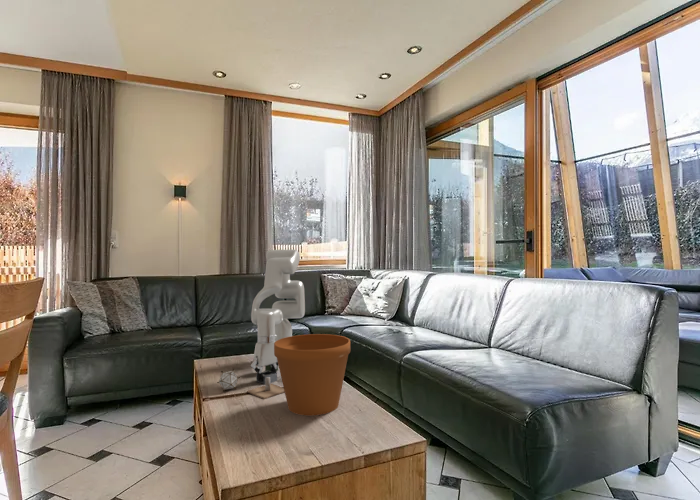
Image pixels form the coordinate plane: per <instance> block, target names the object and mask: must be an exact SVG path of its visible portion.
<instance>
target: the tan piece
mask: <svg viewBox="0 0 700 500" xmlns="http://www.w3.org/2000/svg"><path fill="white" fill-rule="evenodd" d="M246 393H248V394H250V395H253V396H256V397H258V398H261V399H263V400H266V399H270V398H273V397H275V396H279V395H282V394H285V391H284V387H282V386H280V385H279V386H278V385H277V384H274V383H270V377H266V378H265V384H264V385H261V386H259V387H255V388H252V389H250V390H249V389H248V390H247V391H246Z"/></svg>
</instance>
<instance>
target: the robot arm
mask: <svg viewBox="0 0 700 500" xmlns="http://www.w3.org/2000/svg"><path fill="white" fill-rule="evenodd" d="M265 256H266V257H265V258H266V265H265V274H264V282H263V283H264V286H263V288H261V289H260V291H258V292H257V294H256V296H255V297H254V298H253V301H252V305H251V313H250V319H251V322H252V324H253V325H255V326H256V325H257V342H256V343H255V346H254V347H255V348H254V354H253V362H252V363H251V364H250V367H251V368H252V369H253V371H255V373H256V374H257V379H256V382H257V381H259V382H258V383H260V382H263V373H261V372H263V368H264V367H265V366H267V365H271V367H272V368H271V369H270V371H272V372H276V373H277V371H276V369H277V366H278V361H277V357H275V355H274V343H275V342H276V341H277V340H279V339H282V338H286V337H291V336H293V327H292V323H291V322H290V321H289V319H301V318H303V317H304V316H305V313H306V301H305V296H306V295H305V286H304V283H303V281H300V280H291V275H294V274H295V273H296V271H297V269H298V266H299V264H300V259H301V255H300V252H299V251H298V250H297V249H272V250H268V251H266V255H265ZM272 295H274V296H275V297H276V298H278V299H295V300H278V301H275V302H274V303H273V304H272V306H271V308H260V306H261V304H262V302H263V301H265V299H266V298H267V299H268V298H269V297H270V296H272ZM278 367H279V366H278Z"/></svg>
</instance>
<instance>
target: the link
mask: <svg viewBox="0 0 700 500" xmlns="http://www.w3.org/2000/svg"><path fill="white" fill-rule="evenodd" d="M261 373H263V382H259V381H257V373H256V374H255V375H256V382H257V383H260V384H263V385H265V378H266V377H270V384H272V383H274V382H277V381H278V372H277V371H276V372H272V371H269V370H268V371H265V370H264V371H262V372H261Z"/></svg>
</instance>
